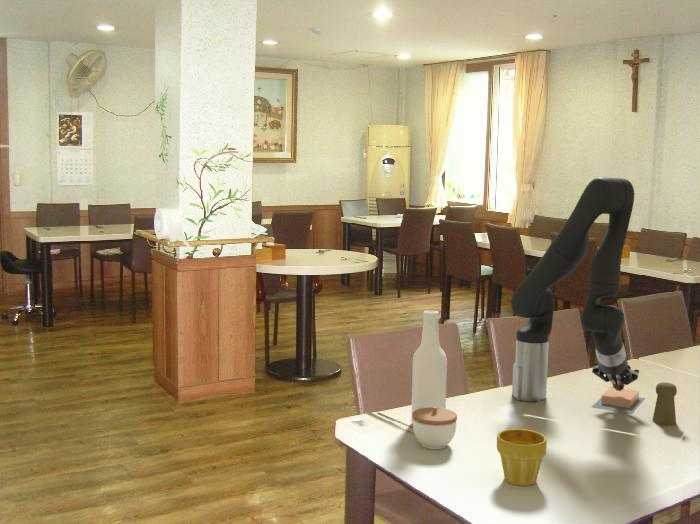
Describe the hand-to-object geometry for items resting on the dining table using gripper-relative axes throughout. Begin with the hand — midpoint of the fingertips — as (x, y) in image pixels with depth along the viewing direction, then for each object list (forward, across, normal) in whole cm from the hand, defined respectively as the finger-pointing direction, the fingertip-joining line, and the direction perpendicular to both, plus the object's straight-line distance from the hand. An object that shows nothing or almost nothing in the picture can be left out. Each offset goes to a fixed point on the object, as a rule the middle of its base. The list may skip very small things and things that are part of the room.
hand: (619, 388), depth 223 cm
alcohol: (-30, +38, +37) cm, 60 cm away
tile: (0, 0, +5) cm, 5 cm away
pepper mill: (-4, -14, +11) cm, 19 cm away
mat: (+4, 0, +3) cm, 5 cm away
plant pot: (-45, +5, +52) cm, 69 cm away
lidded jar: (-38, +30, +46) cm, 67 cm away
